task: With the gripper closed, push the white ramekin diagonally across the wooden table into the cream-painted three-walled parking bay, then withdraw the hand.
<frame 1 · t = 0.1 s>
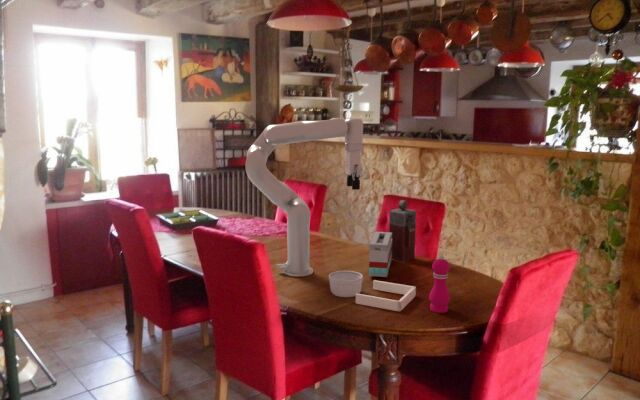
hand: (353, 187, 224), 37 cm above the table, tool pointing down, fingers open, 9 cm apart
square decanter: (403, 259, 247), on the table
pepper mill: (439, 310, 185), on the table
ramekin: (345, 293, 202), on the table
parking bay: (385, 299, 195), on the table
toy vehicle: (380, 269, 233), on the table
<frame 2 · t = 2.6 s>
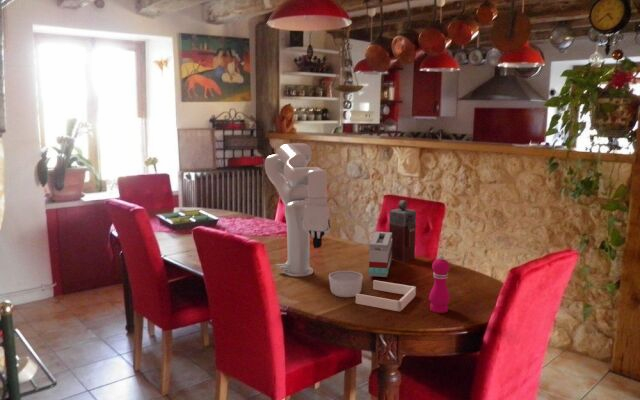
hand: (317, 247, 205), 17 cm above the table, tool pointing down, fingers closed
nothing on the table moved.
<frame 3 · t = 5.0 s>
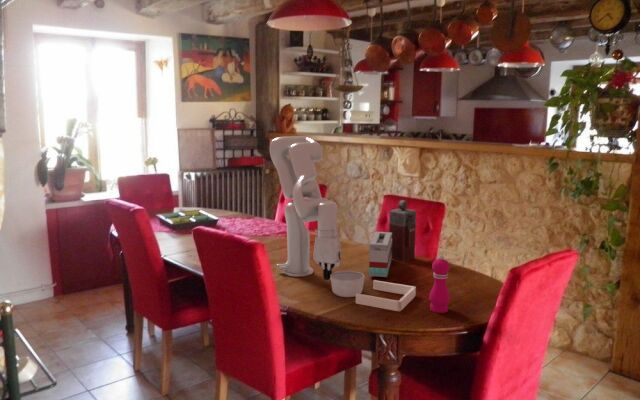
hand: (327, 278, 205), 4 cm above the table, tool pointing down, fingers closed
ramekin: (347, 293, 202), on the table, touching gripper
everything else where it was.
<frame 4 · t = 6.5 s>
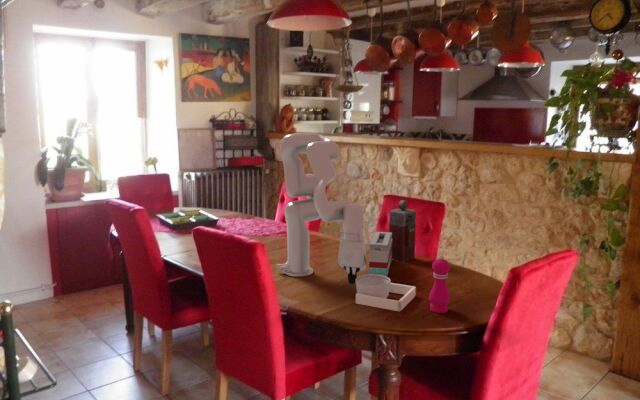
hand: (352, 283, 200), 4 cm above the table, tool pointing down, fingers closed
ramekin: (372, 297, 197), on the table, touching gripper
everything else where it was.
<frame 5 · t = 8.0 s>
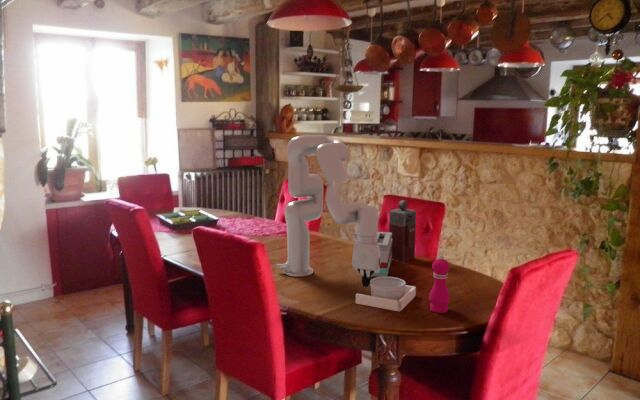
hand: (366, 285, 198), 4 cm above the table, tool pointing down, fingers closed
ramekin: (387, 300, 195), on the table, touching gripper
everything else where it was.
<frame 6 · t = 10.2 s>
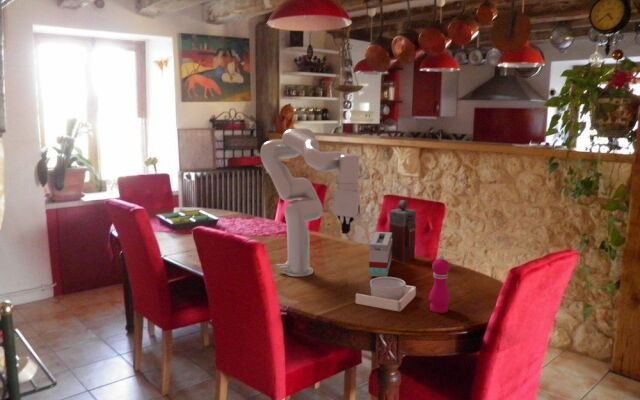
hand: (345, 232, 203), 23 cm above the table, tool pointing down, fingers closed
ramekin: (387, 300, 195), on the table
everything else where it was.
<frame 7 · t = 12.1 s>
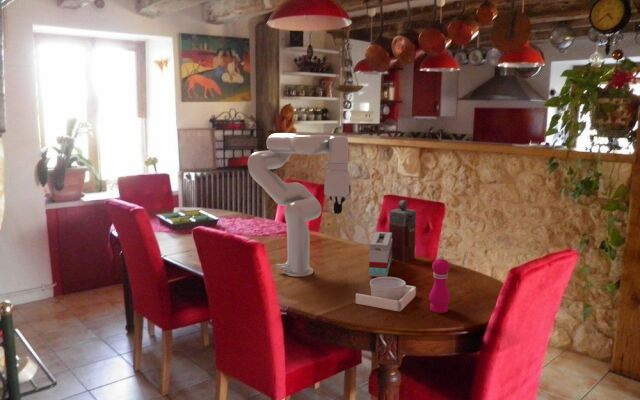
hand: (337, 213, 208), 29 cm above the table, tool pointing down, fingers closed
nothing on the table moved.
at the end: ramekin 0.9 cm from the parking bay (horizontally); ramekin tilted 0° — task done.
